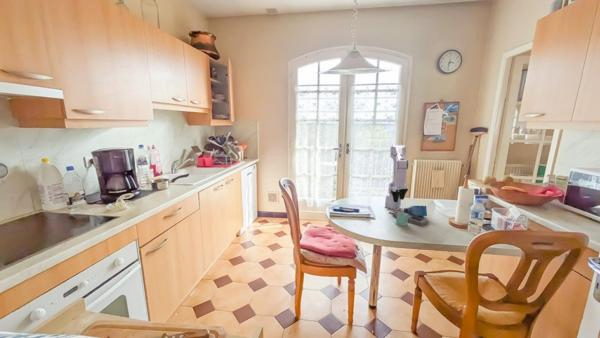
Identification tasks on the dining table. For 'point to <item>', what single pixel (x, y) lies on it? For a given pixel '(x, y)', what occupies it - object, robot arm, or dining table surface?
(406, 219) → the charger
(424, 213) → the perfume bottle
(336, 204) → the dining table surface
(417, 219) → the strip
